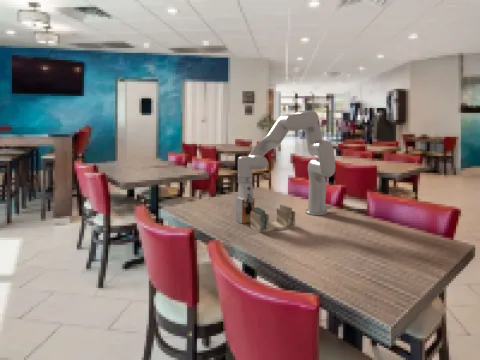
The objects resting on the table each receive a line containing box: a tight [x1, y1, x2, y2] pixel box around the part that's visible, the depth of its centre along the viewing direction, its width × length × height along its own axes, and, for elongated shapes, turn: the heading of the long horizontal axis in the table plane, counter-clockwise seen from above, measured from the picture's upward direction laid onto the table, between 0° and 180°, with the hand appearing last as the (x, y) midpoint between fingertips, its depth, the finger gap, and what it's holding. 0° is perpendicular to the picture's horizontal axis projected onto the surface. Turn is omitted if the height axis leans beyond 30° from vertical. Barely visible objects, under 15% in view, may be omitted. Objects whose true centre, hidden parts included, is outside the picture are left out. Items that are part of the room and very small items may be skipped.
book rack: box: [250, 203, 296, 233], centre depth 191 cm, size 20×10×10 cm, turn 114°
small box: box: [235, 196, 255, 224], centre depth 202 cm, size 8×6×13 cm
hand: (245, 211), depth 202 cm, fingers open, 8 cm apart
